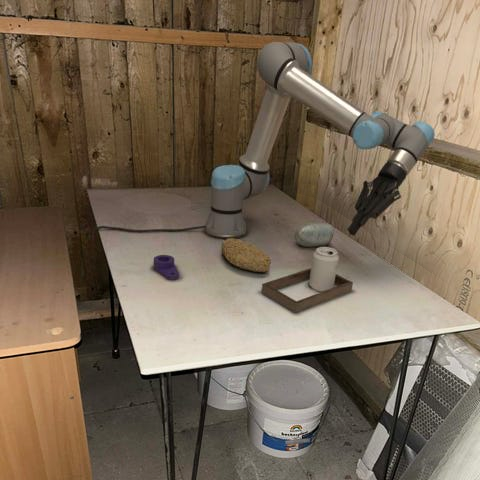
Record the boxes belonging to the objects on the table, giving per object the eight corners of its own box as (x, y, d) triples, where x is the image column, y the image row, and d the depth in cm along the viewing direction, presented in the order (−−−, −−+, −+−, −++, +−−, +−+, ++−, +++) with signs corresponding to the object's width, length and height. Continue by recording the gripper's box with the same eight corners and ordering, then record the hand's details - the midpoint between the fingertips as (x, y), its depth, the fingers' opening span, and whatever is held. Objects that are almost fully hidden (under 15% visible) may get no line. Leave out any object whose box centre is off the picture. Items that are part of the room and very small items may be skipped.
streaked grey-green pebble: (327, 229, 179) (329, 211, 170) (336, 249, 174) (339, 231, 166) (292, 238, 178) (293, 220, 169) (300, 258, 173) (301, 240, 165)
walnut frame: (295, 313, 130) (296, 303, 129) (261, 292, 139) (262, 283, 138) (351, 291, 144) (353, 282, 142) (317, 274, 153) (318, 265, 151)
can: (332, 294, 141) (339, 257, 135) (307, 290, 142) (313, 253, 136) (333, 283, 147) (340, 247, 141) (309, 280, 148) (314, 244, 142)
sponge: (216, 258, 161) (232, 271, 143) (220, 235, 159) (237, 245, 141) (252, 262, 166) (272, 276, 148) (257, 240, 164) (277, 251, 146)
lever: (151, 265, 150) (150, 256, 149) (169, 262, 153) (169, 253, 151) (165, 281, 141) (165, 272, 140) (184, 278, 144) (184, 268, 143)
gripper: (418, 182, 142) (372, 246, 141) (381, 172, 150) (338, 232, 149) (412, 166, 136) (364, 232, 135) (375, 156, 144) (329, 219, 143)
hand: (350, 232), depth 142 cm, fingers closed
